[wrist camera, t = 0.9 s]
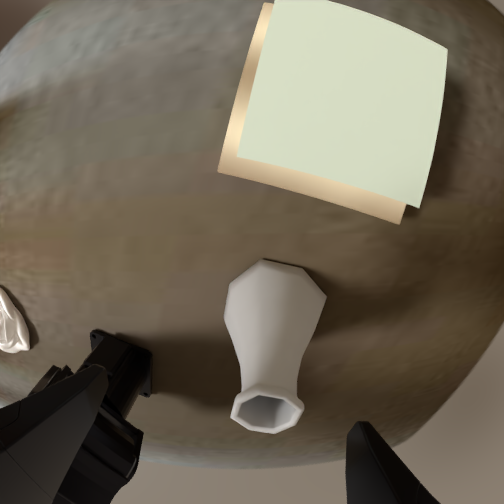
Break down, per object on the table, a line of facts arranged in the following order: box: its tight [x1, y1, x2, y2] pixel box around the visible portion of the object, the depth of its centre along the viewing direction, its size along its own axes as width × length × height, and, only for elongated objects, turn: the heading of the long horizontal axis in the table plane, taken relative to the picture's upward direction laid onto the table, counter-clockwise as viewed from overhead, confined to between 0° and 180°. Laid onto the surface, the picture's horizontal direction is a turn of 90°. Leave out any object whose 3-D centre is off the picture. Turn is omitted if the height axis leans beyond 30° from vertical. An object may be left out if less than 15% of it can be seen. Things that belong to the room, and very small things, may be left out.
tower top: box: [237, 0, 447, 208], centre depth 12 cm, size 9×9×3 cm
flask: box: [224, 259, 327, 434], centre depth 16 cm, size 7×7×10 cm
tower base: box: [217, 2, 406, 225], centre depth 15 cm, size 11×11×3 cm
